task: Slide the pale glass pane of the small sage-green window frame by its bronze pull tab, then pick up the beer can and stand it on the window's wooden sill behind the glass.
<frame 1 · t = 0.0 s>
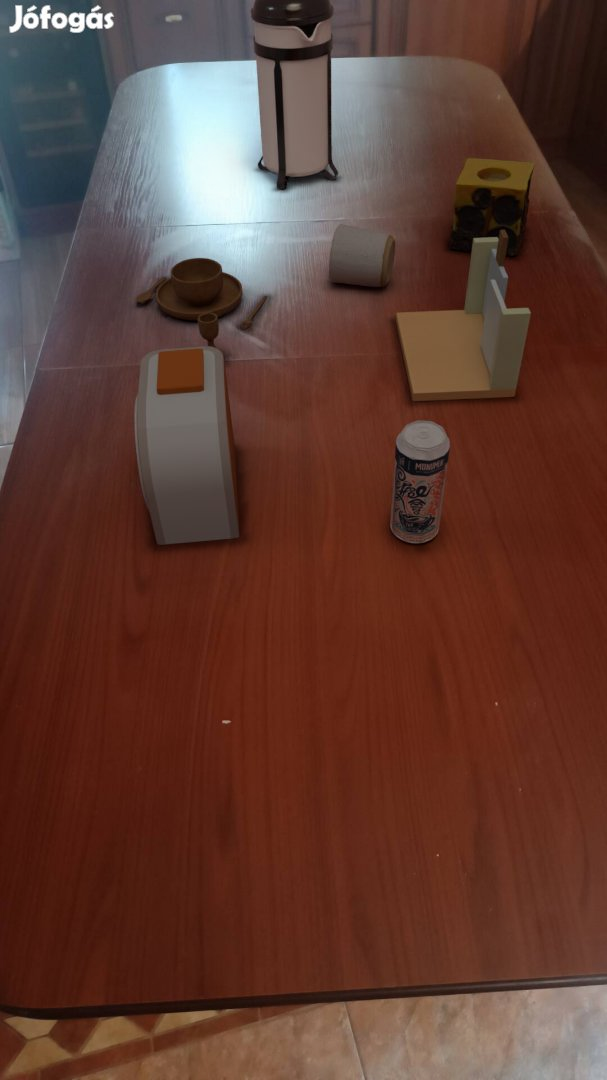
place setting: (190, 318, 109), on the table
grey cylinder: (361, 278, 115), on the table
candle: (487, 240, 122), on the table
beer can: (414, 530, 80), on the table
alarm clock: (197, 492, 84), on the table
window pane: (496, 282, 97), point 8 cm above the table, slide at 0.0 cm
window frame: (487, 354, 100), on the table
coffee press: (293, 172, 142), on the table
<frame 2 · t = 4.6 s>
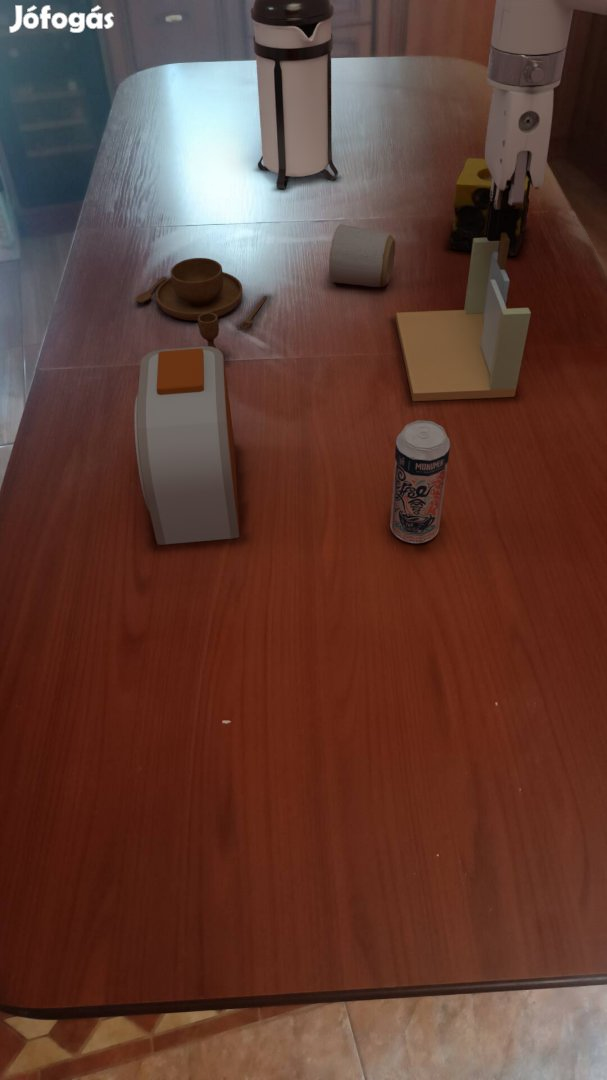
hand: (499, 237, 95), 12 cm above the table, tool pointing down, fingers closed
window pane: (497, 285, 97), point 8 cm above the table, slide at 0.8 cm, touching gripper
everything else where it was.
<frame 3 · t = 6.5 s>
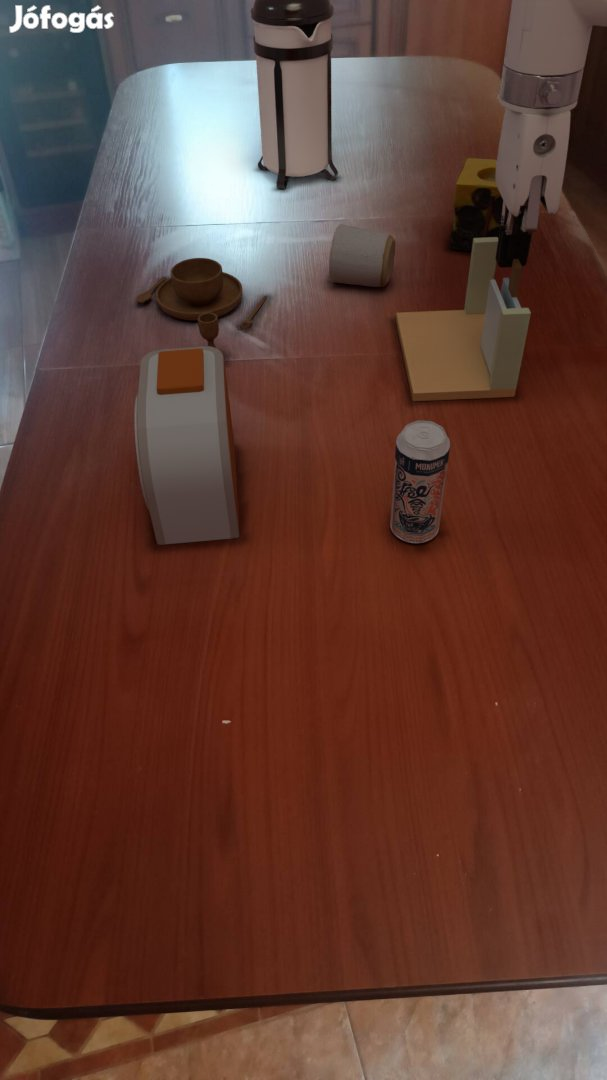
hand: (510, 263, 91), 12 cm above the table, tool pointing down, fingers closed
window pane: (508, 313, 92), point 8 cm above the table, slide at 7.2 cm, touching gripper
everything else where it was.
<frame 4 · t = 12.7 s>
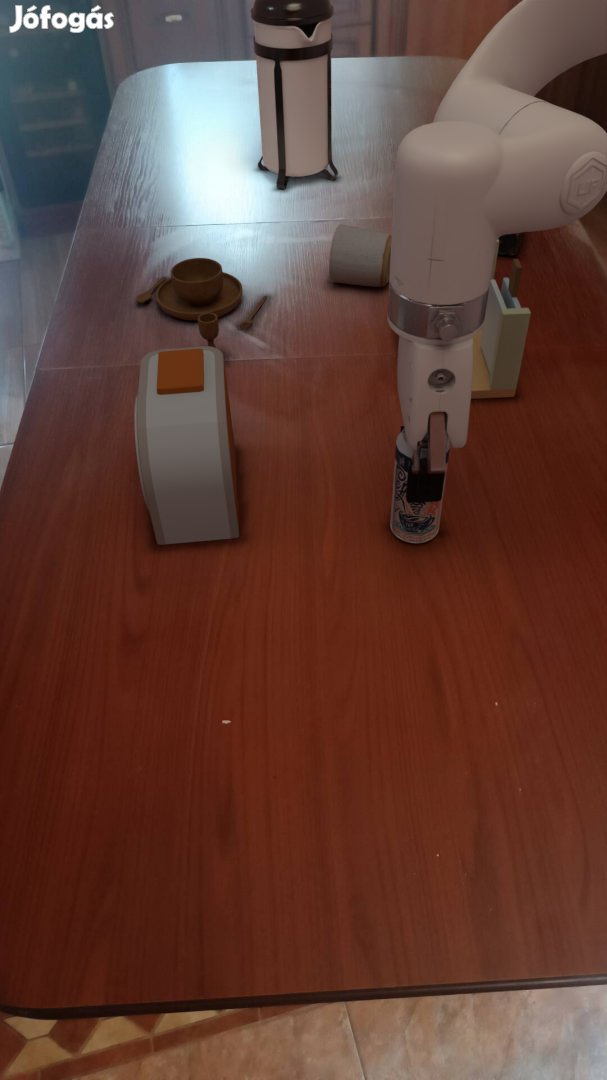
hand: (419, 478, 74), 7 cm above the table, tool pointing down, fingers closed on beer can, 4 cm apart
beer can: (414, 530, 80), on the table, touching gripper
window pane: (508, 313, 92), point 8 cm above the table, slide at 7.2 cm
everything else where it was.
when the fingers open (8 cm above the table, at t = 21.9 s): beer can stays where it is, resting on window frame.
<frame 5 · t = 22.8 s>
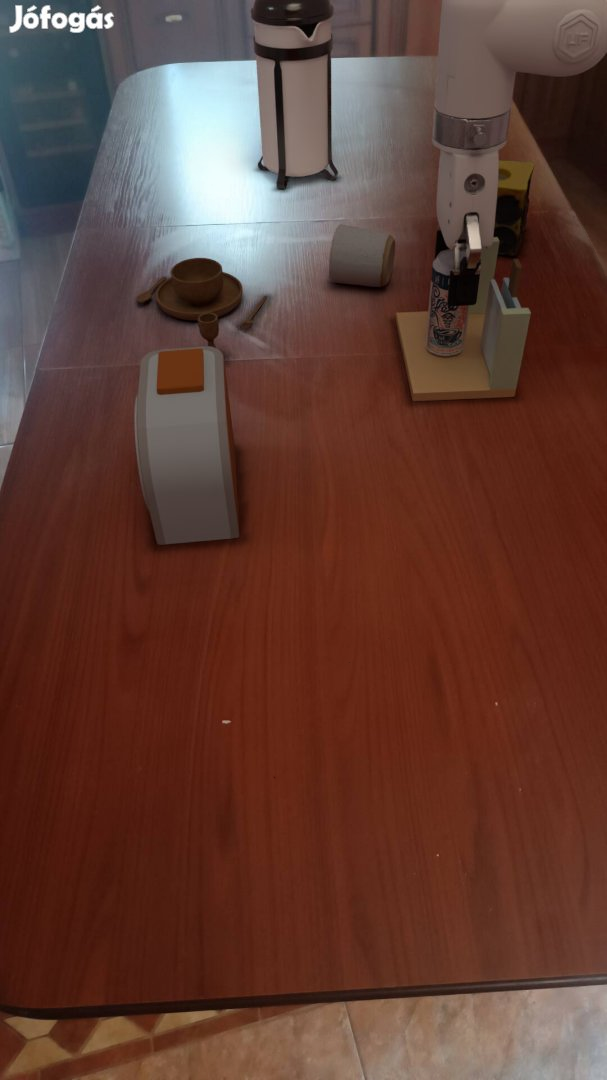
hand: (454, 282, 93), 10 cm above the table, tool pointing down, fingers open, 9 cm apart
beer can: (444, 349, 99), point 1 cm above the table, touching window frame
everything else where it was.
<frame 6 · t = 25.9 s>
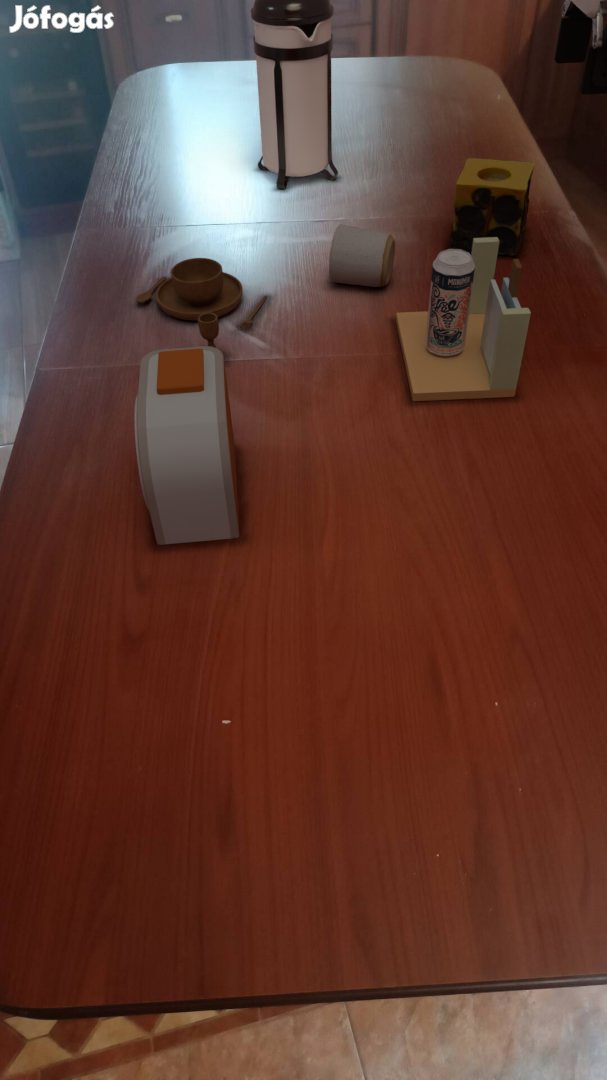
hand: (582, 76, 80), 30 cm above the table, tool pointing down, fingers open, 9 cm apart
nothing on the table moved.
at the end: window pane slide at 7.2 cm; beer can inside the target area on the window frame (0.8 cm from its centre), point 1.0 cm above the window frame's base; beer can tilted 0° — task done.
